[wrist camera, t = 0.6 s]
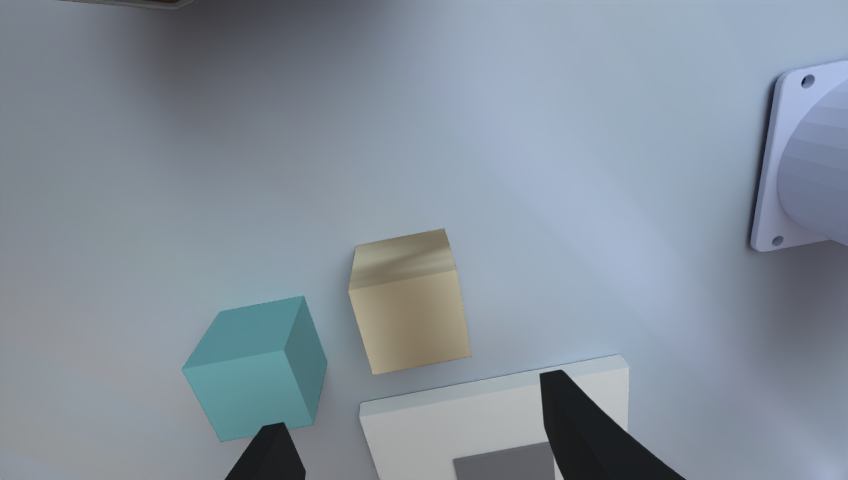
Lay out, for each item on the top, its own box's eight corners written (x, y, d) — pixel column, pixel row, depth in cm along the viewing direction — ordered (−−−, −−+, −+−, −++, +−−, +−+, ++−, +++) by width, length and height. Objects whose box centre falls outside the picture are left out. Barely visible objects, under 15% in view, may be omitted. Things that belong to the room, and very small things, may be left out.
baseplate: (619, 354, 22) (631, 369, 21) (616, 518, 28) (625, 537, 27) (360, 402, 22) (358, 420, 21) (410, 556, 28) (411, 576, 27)
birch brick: (444, 227, 19) (456, 269, 15) (457, 302, 20) (471, 356, 17) (356, 244, 19) (347, 290, 15) (376, 317, 20) (373, 375, 17)
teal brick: (304, 294, 20) (283, 350, 16) (327, 361, 21) (313, 424, 18) (220, 310, 20) (181, 369, 16) (250, 375, 21) (220, 442, 18)
